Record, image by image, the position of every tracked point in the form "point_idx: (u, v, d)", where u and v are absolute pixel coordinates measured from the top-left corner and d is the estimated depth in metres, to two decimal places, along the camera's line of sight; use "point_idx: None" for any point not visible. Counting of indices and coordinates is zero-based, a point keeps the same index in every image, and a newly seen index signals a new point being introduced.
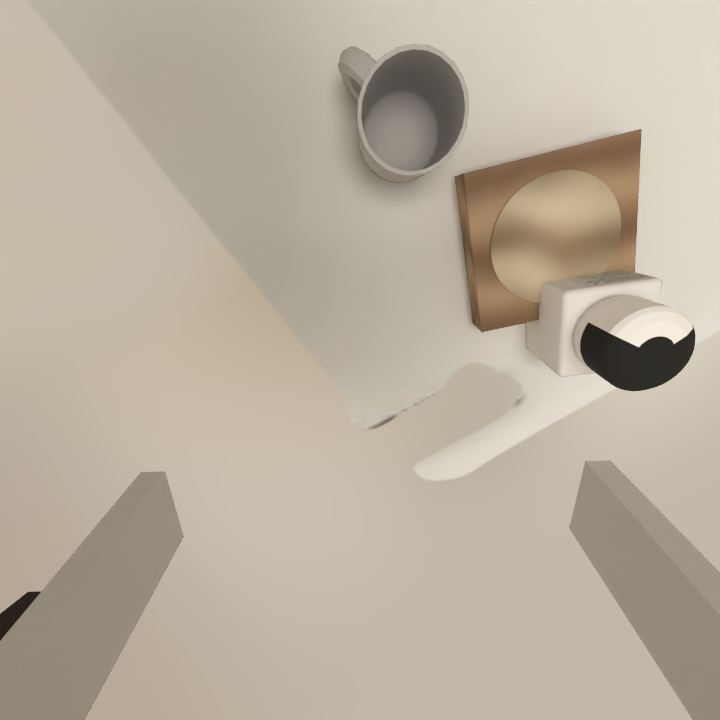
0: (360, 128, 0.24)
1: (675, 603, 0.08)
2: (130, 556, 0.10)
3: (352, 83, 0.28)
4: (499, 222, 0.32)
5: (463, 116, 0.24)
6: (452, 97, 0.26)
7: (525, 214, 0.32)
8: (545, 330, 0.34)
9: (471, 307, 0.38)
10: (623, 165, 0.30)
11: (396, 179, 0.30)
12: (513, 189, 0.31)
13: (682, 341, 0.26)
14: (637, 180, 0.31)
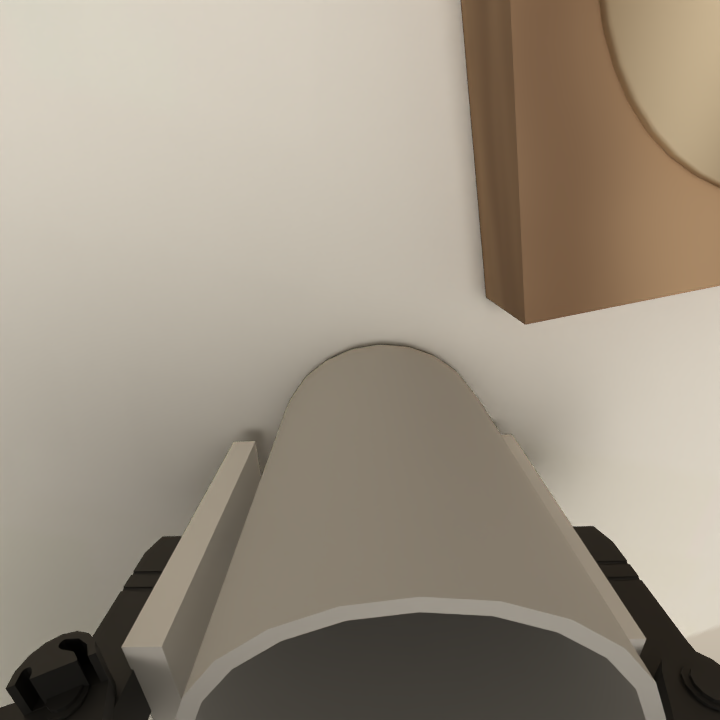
0: None
1: None
2: (239, 510, 0.11)
3: None
4: None
5: None
6: None
7: None
8: None
9: None
10: None
11: None
12: (622, 125, 0.08)
13: None
14: None
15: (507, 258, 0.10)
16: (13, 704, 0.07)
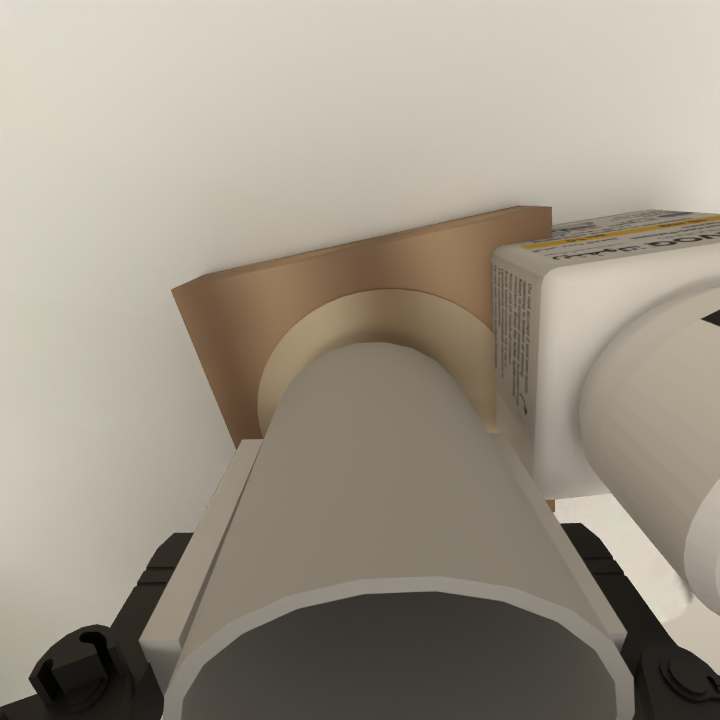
0: None
1: None
2: None
3: None
4: None
5: None
6: None
7: None
8: None
9: None
10: (240, 310, 0.14)
11: None
12: None
13: None
14: (266, 272, 0.14)
15: None
16: (31, 697, 0.07)
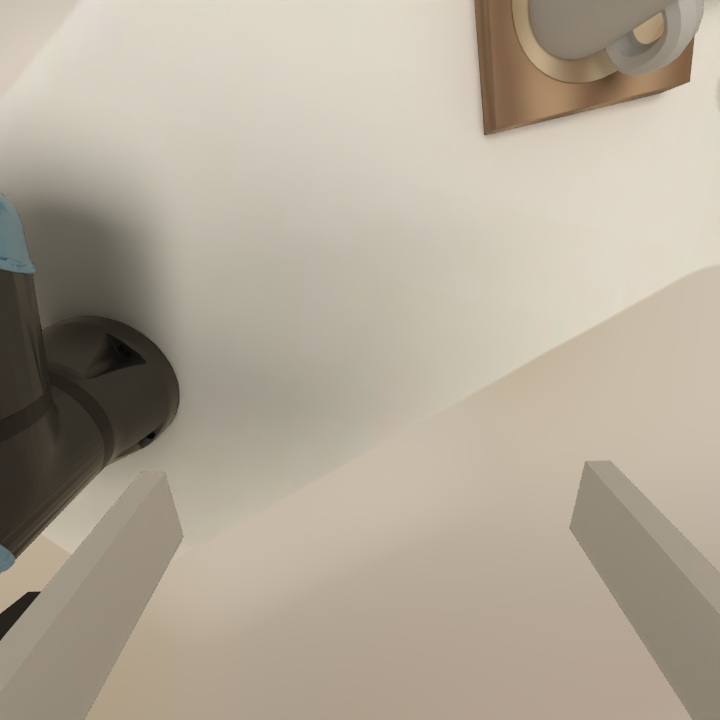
0: None
1: (675, 603, 0.08)
2: (130, 556, 0.10)
3: None
4: (557, 74, 0.27)
5: None
6: None
7: None
8: None
9: (637, 98, 0.30)
10: None
11: None
12: (522, 59, 0.27)
13: None
14: None
15: (491, 108, 0.29)
16: None
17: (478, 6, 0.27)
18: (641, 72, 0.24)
